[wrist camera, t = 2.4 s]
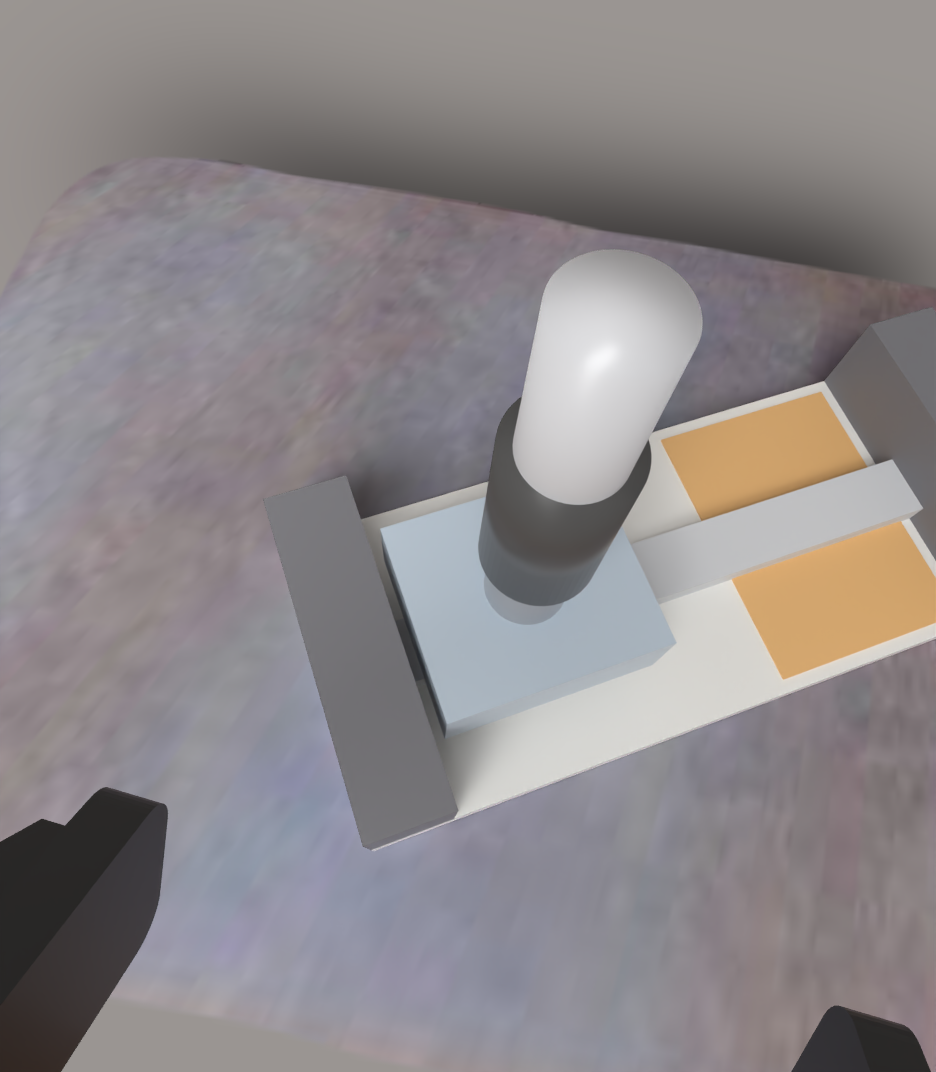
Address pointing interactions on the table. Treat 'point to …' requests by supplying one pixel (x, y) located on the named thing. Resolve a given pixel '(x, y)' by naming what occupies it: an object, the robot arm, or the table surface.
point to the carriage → (554, 507)
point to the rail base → (653, 589)
